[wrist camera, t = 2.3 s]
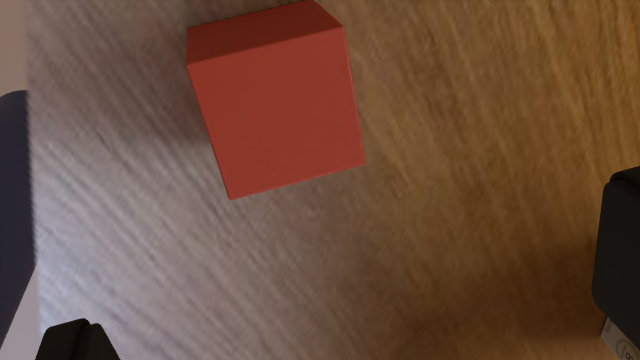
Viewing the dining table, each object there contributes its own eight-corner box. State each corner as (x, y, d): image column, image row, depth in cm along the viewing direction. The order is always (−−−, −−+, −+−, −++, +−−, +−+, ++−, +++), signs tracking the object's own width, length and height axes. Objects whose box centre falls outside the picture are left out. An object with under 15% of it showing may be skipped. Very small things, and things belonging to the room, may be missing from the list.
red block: (222, 143, 22) (229, 201, 18) (186, 28, 20) (184, 64, 16) (334, 114, 23) (366, 164, 19) (312, -3, 20) (344, 25, 16)
